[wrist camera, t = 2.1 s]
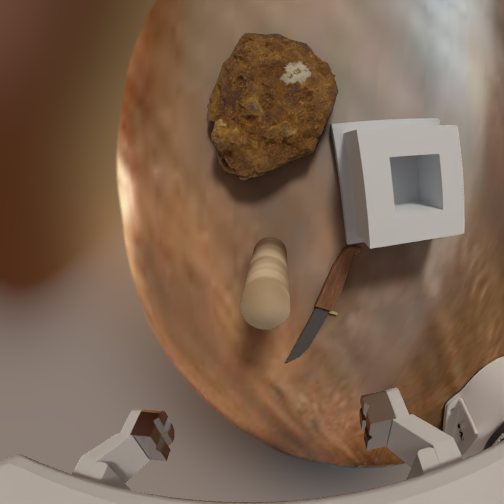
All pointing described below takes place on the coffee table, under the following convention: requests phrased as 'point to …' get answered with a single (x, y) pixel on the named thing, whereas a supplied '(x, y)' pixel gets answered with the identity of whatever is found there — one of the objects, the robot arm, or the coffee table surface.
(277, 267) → the peg
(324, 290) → the knife
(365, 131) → the socket
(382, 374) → the coffee table surface
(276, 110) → the decorative rock
